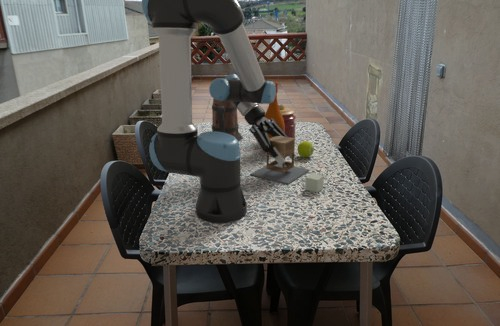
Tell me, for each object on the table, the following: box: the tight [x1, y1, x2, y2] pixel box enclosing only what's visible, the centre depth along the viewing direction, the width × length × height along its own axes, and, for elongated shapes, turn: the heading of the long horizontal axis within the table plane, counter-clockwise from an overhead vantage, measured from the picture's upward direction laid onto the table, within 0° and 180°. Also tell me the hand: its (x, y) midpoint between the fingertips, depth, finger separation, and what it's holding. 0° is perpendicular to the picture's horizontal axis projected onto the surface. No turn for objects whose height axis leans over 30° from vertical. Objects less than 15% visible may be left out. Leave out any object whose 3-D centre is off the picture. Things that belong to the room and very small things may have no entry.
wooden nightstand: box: [265, 136, 296, 173], centre depth 144 cm, size 7×7×11 cm
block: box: [304, 172, 325, 193], centre depth 132 cm, size 4×4×4 cm
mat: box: [250, 164, 310, 186], centre depth 146 cm, size 16×16×1 cm
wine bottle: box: [263, 80, 285, 154], centre depth 166 cm, size 10×10×30 cm
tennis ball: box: [297, 140, 315, 158], centre depth 162 cm, size 7×7×7 cm
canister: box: [279, 104, 297, 139], centre depth 181 cm, size 13×13×18 cm
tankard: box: [211, 98, 244, 142], centre depth 184 cm, size 24×17×20 cm
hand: (288, 160), depth 142 cm, fingers closed on wooden nightstand, 7 cm apart
